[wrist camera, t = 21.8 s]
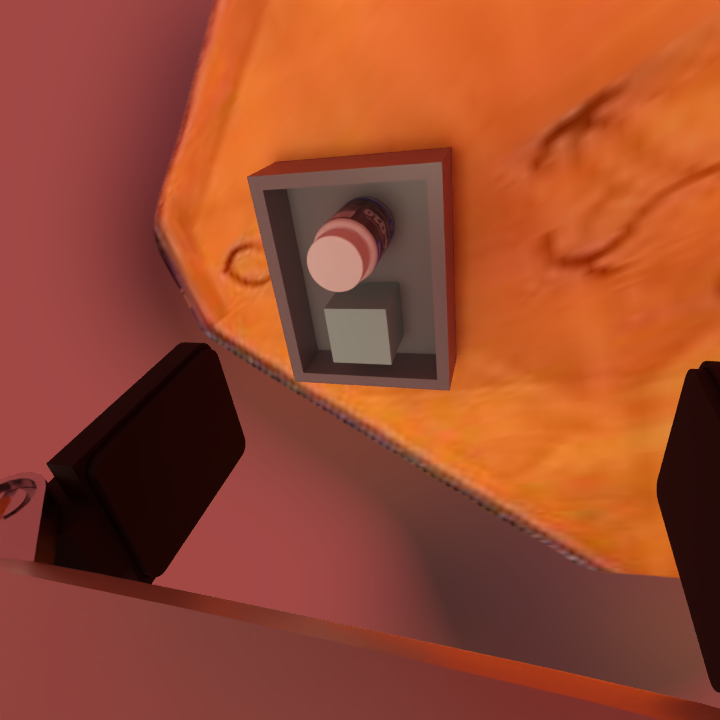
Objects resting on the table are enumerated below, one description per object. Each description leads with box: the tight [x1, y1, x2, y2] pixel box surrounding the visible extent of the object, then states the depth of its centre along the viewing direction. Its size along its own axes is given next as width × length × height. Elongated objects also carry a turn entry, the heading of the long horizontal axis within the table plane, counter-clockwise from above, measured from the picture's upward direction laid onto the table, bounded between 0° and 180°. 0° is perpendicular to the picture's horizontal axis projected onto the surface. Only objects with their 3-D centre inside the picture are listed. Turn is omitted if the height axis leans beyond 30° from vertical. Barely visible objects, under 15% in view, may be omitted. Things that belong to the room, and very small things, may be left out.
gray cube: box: [324, 282, 404, 365], centre depth 41 cm, size 5×5×5 cm
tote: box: [247, 147, 456, 391], centre depth 40 cm, size 18×14×5 cm
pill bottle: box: [307, 197, 394, 292], centre depth 36 cm, size 5×5×8 cm
